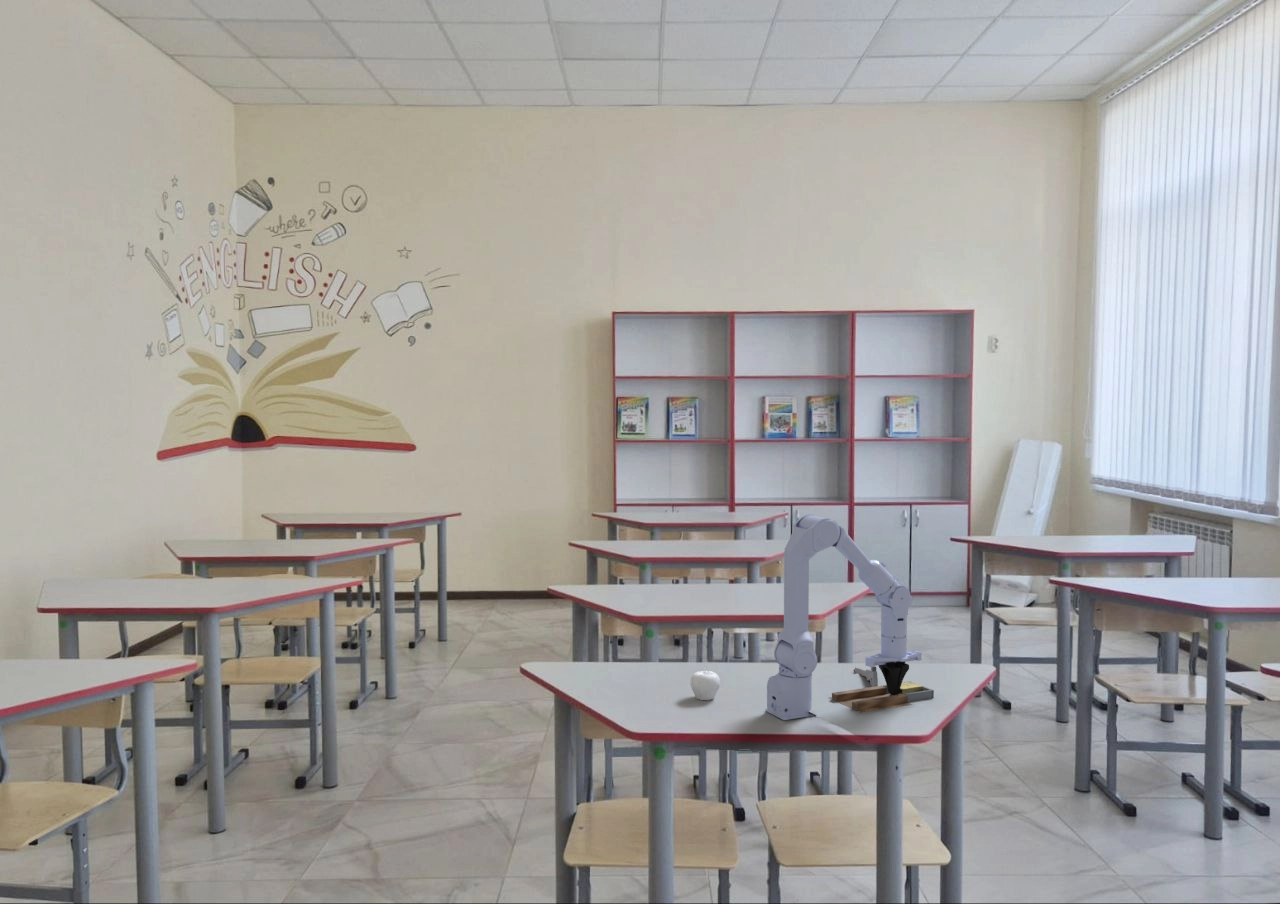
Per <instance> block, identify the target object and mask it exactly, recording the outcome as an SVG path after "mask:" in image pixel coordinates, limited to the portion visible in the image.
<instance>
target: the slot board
mask: <svg viewBox="0 0 1280 904" xmlns="http://www.w3.org/2000/svg"><path fill="white" fill-rule="evenodd" d="M829 699H830V700H832V701H834V702H836V703H838V704H840V705H843V706H846V707H848V708H849V709H852V710H854V711H856V712H859V713H867V712H874V711H880V710H886V709H892V708H898V707H899V708H900V707H905V706H906V707H907V706H911V705H913V704H912V703H909V702H908V696H906V695H904V694H899V695H891V694H889V693H886V687H884V686H883V685H878V686H875V687H873V686H870V687H863V688H856V689H850V690H842V691H837V692H832V693H831V696H830V697H829Z"/></svg>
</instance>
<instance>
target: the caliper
mask: <svg viewBox="0 0 1280 904" xmlns="http://www.w3.org/2000/svg"><path fill="white" fill-rule="evenodd" d="M853 671H854V673H857V674H856V675H858V674H861V676H863V677H865V678H866V681H868V682H869V683H870V687H875V686H879V680H878V679H879V678H878V671H877V666H874V667H870V668H869V669H866V668H862V667H854V668H853Z"/></svg>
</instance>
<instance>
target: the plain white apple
mask: <svg viewBox="0 0 1280 904" xmlns="http://www.w3.org/2000/svg"><path fill="white" fill-rule="evenodd" d="M720 687H721V679H720V677H719V675H718V674H717V673H716V672H714V671H712V670H707V665H706V664H705V665H704V668H703V670H701V671H699V670H698V671H695V672H694V673H693V674H692V675H691V677H690V688H691V690H692V692H693V695H694V697H695V698H696V699H697V700H699V699H700V701H702V700H707V701H710V700H713V699H714V698H715V697H716V695H717V693H718V691H719V689H720Z"/></svg>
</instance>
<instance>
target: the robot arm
mask: <svg viewBox="0 0 1280 904" xmlns="http://www.w3.org/2000/svg"><path fill="white" fill-rule="evenodd" d="M792 530H793V531H792V532H791V534H790V537H789V539H788V541H787V542H786V544H785V548H784V552H783V629H782V630H781V631H780V632H779V633H778V635H777V643H776V646H774V651H773V657H774V660H775V661H776V662H777V664H778V673H777V674H774V675H772V676H770V677H768V680H767V683H766V708H764V710H765V712H767V713H769V714H771V715H773V716H775V717H777V718H778V719H781V720H782V721H787V720H788V721H789V720H797V719H801V718H807V717H813V716H814V717H815V716H816V714H815V713H813V712H811V710H812V709H813V708H812V707H813V705H812V704H813V702H812V701H813V698H812V696H813V695H812V693H813V684H812V682H813V677H812V676H813V672H814V671H815V670H816V668H817V666H818V656H817V653H816V651H815V649H814V640H813V638H812V635H811V633H810V631H809V609H810V608H809V607H810V606H809V605H810V604H809V600H810V599H809V594H810V593H809V592H810V590H809V588H810V587H809V585H810V581H809V579H810V578H809V577H810V575H809V573H810V560H811V559H812V558H813V557H814V556H815V555H817V553H819V552H821V551H824V550H826V549H828V548H830V547H833V548H834V549H836V550H837V551H838V552H839V553H841V555H842V556H844V557H845V558H846V559H847V561H848V562H850V563H851V564H852V565H853V566H854V567H855V568H856V569H857V570H858V578H859V579H860V581H862V583H864V585H865V586H866V587H868V589H870V591H871V592H872V593H873V594H874V595H875V599H876V601H877V603H879V604H880V607H881V608H880V615H881V616H880V620H881V623H880V631H881V632H880V652H879V653H877V654H873V655H870V656H865V664H864V665H865V667H866V666H867V667H869V668H871V667H874V666H875V667H877V666H878V667H879V670H880V671H881V672H882V675H883V677H884V681H885V683H886V684H885V685H887V688H888V693H887V694H888V695H890V696H892V695H899V691H900V687H901V684H902V683H903V680H904V678H905V676H906V675H907V673H908V671H909V670H910V664H908V663H906V662H911V661H912V662H913V661H916V662H917V661H918V662H920V661H922V651H918V650H907V649H908V647H907V645H908V644H907V643H908V641H907V640H908V615H909V608H910V607H911V605H912V603H913V599H914V597H913V596H911V595H912V594H911V592H910V590H909V588H908V587H906V586H904V585H901V584H899V580H898V577H896V576H893V575H892V574H891V573H890V572H889V571H888V570H887V569H886V564H885V563H884V562H883V561H881V560H880V561H878V560H877V559H870V558H869V557H868V556H867V555H866V554H865V553H864V552H863V550H862V549H861V548H860V547H859V545H858V544H856V542H855V541H854V540H853V539H852V538H851V536H850V535H849V534H848V533H847V531H846V530H845V528H844V527H842V526H841V525H839V524H838V522H837V521H836V520H835V519H833V518H830V517H822V516H817V515H814V514H805V515H803V516H801V517H800V518H799V519H798V520H797V521H795V522H794V523H793V524H792Z"/></svg>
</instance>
